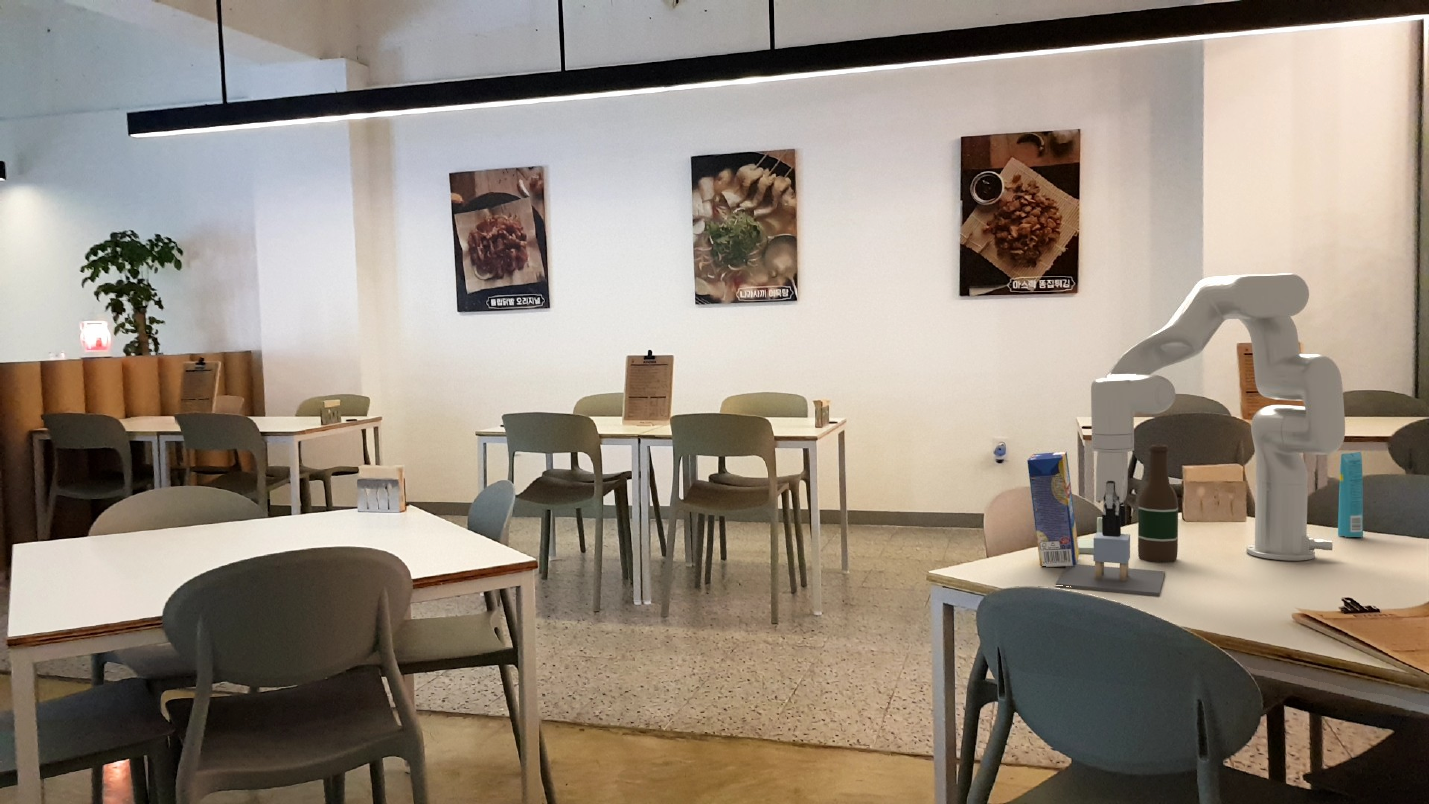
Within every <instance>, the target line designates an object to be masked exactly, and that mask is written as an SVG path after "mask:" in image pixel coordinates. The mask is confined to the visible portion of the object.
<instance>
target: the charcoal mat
mask: <svg viewBox="0 0 1429 804" xmlns="http://www.w3.org/2000/svg"><path fill="white" fill-rule="evenodd" d="M1165 573H1166V572H1165V570H1155V569H1154V570H1152V569H1143V568H1142V569H1141V568H1130V567H1128V576H1127V577H1126V582H1122V581H1120V567H1118V566H1117V567H1116V566H1114V567H1113V566H1106V565H1104V574H1102V579H1100V580H1098V579H1095V565H1090V564H1080V563H1078V564H1077V563H1076V565H1075V566H1065V568H1064V570H1063V571H1062V573H1061V574H1060V575H1059V577H1058V579H1057V581H1056V582H1055V585H1063V586H1057V587H1056V588H1066V586H1069V587H1070V586H1071V587H1072V588H1071V589H1075V588H1080V589H1079V590H1088V591H1089V590H1090V591H1099V592H1107V593H1108V592H1111V593H1119V592H1120V593H1121V594H1132V595H1133V594H1134V595H1141V596H1142V595H1144V596H1151V597H1152V596H1155V597H1160V595H1161V591H1162V587H1163V583H1164V579H1165ZM1055 585H1054V586H1055ZM1066 589H1067V588H1066Z"/></svg>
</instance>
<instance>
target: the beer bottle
mask: <svg viewBox="0 0 1429 804" xmlns="http://www.w3.org/2000/svg"><path fill="white" fill-rule="evenodd" d="M1148 451H1150V457H1149V471H1148V479H1147V484H1145V486H1144V488H1143V489H1142V490H1141V493H1140V494H1139V497H1138V507H1137V508H1138V510H1137V511H1138V512H1137V513H1138V514H1137V516H1138V518H1137V519H1138V521H1137V525H1138V526H1137V530H1138V531H1137V555H1138V558H1139V559H1141V560H1144V561H1146V562H1152V563H1160V562H1161V563H1162V564H1163V562H1164V563H1174V562H1175V561H1176V560H1177V558H1178V552H1179V551H1178V550H1179V549H1178V548H1179V546H1178V545H1179V541H1178V540H1179V500H1178V496H1177V493H1176V491H1175V489H1174V488H1173V486H1172V485H1171V484H1170V478H1169V467H1168V466H1169V465H1168V464H1169V463H1168V451H1170V450H1169V446H1168V445H1167V444H1162V443H1161V444H1160V443H1159V444H1157V443H1156V444H1151V445H1150V446H1149V450H1148Z"/></svg>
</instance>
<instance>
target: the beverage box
mask: <svg viewBox="0 0 1429 804" xmlns="http://www.w3.org/2000/svg"><path fill="white" fill-rule="evenodd" d="M1067 453H1068V451H1067V450H1066V451H1057V452H1056V451H1055V452H1043V453H1033V454H1032V455H1030V456H1029V458H1028V459H1027V468H1028V476H1029V477H1028V478H1029V484H1030V485H1029V487H1030V492H1031V502H1032V503H1031V504H1032V511H1033V519H1034V525H1035V535H1036V541H1037V542H1036V543H1037V551H1038V558H1039V559H1038V560H1039V566H1046V567H1045V568H1048V567H1049V568H1050V567H1066V566H1075V565H1076V564H1077V563H1078V558H1079V556H1080V553H1079V549H1078V540H1077V538H1078V535H1077V534H1078V533H1077V526H1076V518H1075V510H1074V509H1075V508H1074V502H1073V501H1074V500H1073V494H1072V493H1073V492H1072V484H1071V477H1070V467H1069V459H1068V454H1067Z"/></svg>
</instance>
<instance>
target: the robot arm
mask: <svg viewBox="0 0 1429 804" xmlns="http://www.w3.org/2000/svg"><path fill="white" fill-rule="evenodd" d="M1309 299H1310V290H1309V287H1308V284H1307V283H1306V281H1305V280H1304V278H1302V277H1301V276H1299V275H1297V274H1295V273H1276V274H1275V273H1274V274H1238V275H1224V276H1223V275H1222V276H1211V277H1210V276H1209V277H1207V278H1203V279H1201V280H1199V281H1198V282H1196V283H1195V284H1194V285H1193V286H1192V288H1191V289H1190V291H1189V292H1188V293H1187V294H1186V296H1185V297H1184V299H1182V301H1181V303H1180V304H1179V306H1177V308H1176V309H1175V311H1174V312H1173V314H1172V315H1171V316H1170V317H1169V319H1168V320H1167V322H1166V323H1165V324H1164V326H1162V327H1161V328H1160V329H1159V330H1157V331H1156V332H1154V333H1152V334H1151V335H1149V336H1147V337H1146V338H1144V339H1143V340H1141V341H1140V342H1138V343H1137V344H1135V345H1133V346H1132V347H1130V348H1129V349H1128V350H1126V351H1125V352H1124V353H1123V354H1122V355H1120V357H1119V358H1118V359H1117V361H1116V362H1115V363H1114V365H1113V366H1112V367H1111V368H1110V370H1109V371H1108V372H1107V374H1106V376H1105V377H1100V378H1096V379H1094V380H1093V381H1092V382H1091V385H1090V400H1091V401H1090V407H1091V411H1090V412H1091V413H1090V416H1091V419H1090V420H1091V450H1092V452H1097V453H1096V471H1095V473H1096V476H1095V477H1096V481H1095V482H1096V483H1095V484H1096V485H1095V486H1096V489H1095V501H1096V503H1097V504H1100V503H1101V502H1102V503H1103V504H1102V515H1101V517H1102V535H1103V536H1112V537H1120V535H1121V534H1122V527H1125V526H1126V505H1125V501H1126V498H1127V493H1128V478H1129V477H1128V475H1129V474H1128V473H1129V472H1128V471H1129V469H1128V468H1129V467H1128V466H1129V464H1128V463H1129V462H1128V461H1129V460H1128V458H1129V457H1128V452H1129V453H1130V452H1133V451H1135V426H1134V425H1135V423H1134V422H1135V420H1134V419H1135V418H1134V417H1135V416H1134V415H1135V414H1147V415H1148V414H1149V415H1157V414H1161V413H1163V412H1165V411H1167V410H1169V409H1170V407H1172V405H1173V404H1174V402H1175V399H1176V393H1177V392H1176V389H1175V386H1174V384H1173V383H1172V381H1170V380H1169V379H1167V378H1166V377H1164V376H1162V375H1158V374H1153V373H1155V372H1157V371H1159V370H1162V369H1163V368H1165V367H1169V366H1172V365H1176V364H1178V363H1181V362H1185V361H1187V360H1189V359H1191V358H1192V359H1193V358H1194V357H1196V356H1198V355H1199V354H1200V353H1202V351H1204V349H1205V348H1206V347H1207V345H1208V344H1209V342H1210V340H1211V339H1212V338H1213V336H1214V335H1215V334H1216V332H1217V331H1218V329H1220V327H1221V325H1222V324H1223V323H1224V322H1225V321H1226V320H1239V321H1240V322H1241V323H1242V324H1243V325H1244V326H1245V328H1246V330H1247V331H1248V334H1249V336H1250V341H1251V347H1252V348H1251V349H1252V350H1251V351H1252V360H1253V361H1252V362H1253V371H1254V379H1255V380H1254V381H1255V387H1256V389H1257V392H1258V393H1259V394H1260V395H1261V396H1262V397H1264V398H1267V399H1272V400H1279V401H1281V400H1282V401H1295V402H1297V401H1298V402H1303V404H1304V405H1303V406H1301V405H1289V404H1288V405H1287V404H1271V405H1268V406H1264V407H1262V408H1260V409H1259V410H1257V411H1256V413H1255V414H1254V415H1253V417H1252V420H1251V424H1250V429H1251V437H1252V442H1253V446H1254V453H1255V506H1254V507H1255V508H1254V509H1255V510H1254V511H1255V512H1254V516H1255V517H1254V543H1253V544H1248V545H1247V546H1246V551H1245V552H1246V553H1247V554H1249V555H1250V556H1253V557H1257V558H1261V559H1262V558H1263V559H1267V560H1276V561H1277V560H1278V561H1288V562H1289V561H1292V562H1293V561H1295V562H1296V561H1307V560H1308V559H1309V560H1312V559H1314V558H1315V557H1316V552H1315V550H1322V551H1333V540H1325V539H1315V538H1311V537H1310V536H1309V533H1308V532H1307V531H1308V530H1307V529H1308V523H1307V522H1308V490H1309V489H1308V488H1309V487H1308V483H1309V472H1308V469H1307V466H1306V462H1305V460H1304V459H1303V457H1302V455H1301V454H1308V455H1309V454H1310V455H1320V456H1322V455H1323V456H1325V455H1326V456H1327V455H1331V454H1334V453H1335V452H1337V451H1338V450H1339V449H1340V448H1341V447H1342V446H1343V443H1344V441H1345V435H1346V418H1345V417H1346V416H1345V405H1344V404H1345V403H1344V402H1345V401H1344V389H1343V381H1342V373H1341V372H1340V369H1339V367H1338V365H1337V363H1336V362H1335V361H1334V360H1333V359H1332V358H1330V357H1329V356H1326V355H1323V354H1313V353H1312V354H1307V353H1302V352H1301V348H1300V343H1299V334H1298V329H1297V326H1296V324H1295V322H1294V320H1293V319H1292V317H1294V316H1297V315H1298V314H1300V313H1301V312H1302V311H1303V310H1304V309H1305V308H1306V306H1307V304H1308V303H1309ZM1300 453H1301V454H1300ZM1309 560H1308V561H1309Z"/></svg>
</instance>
